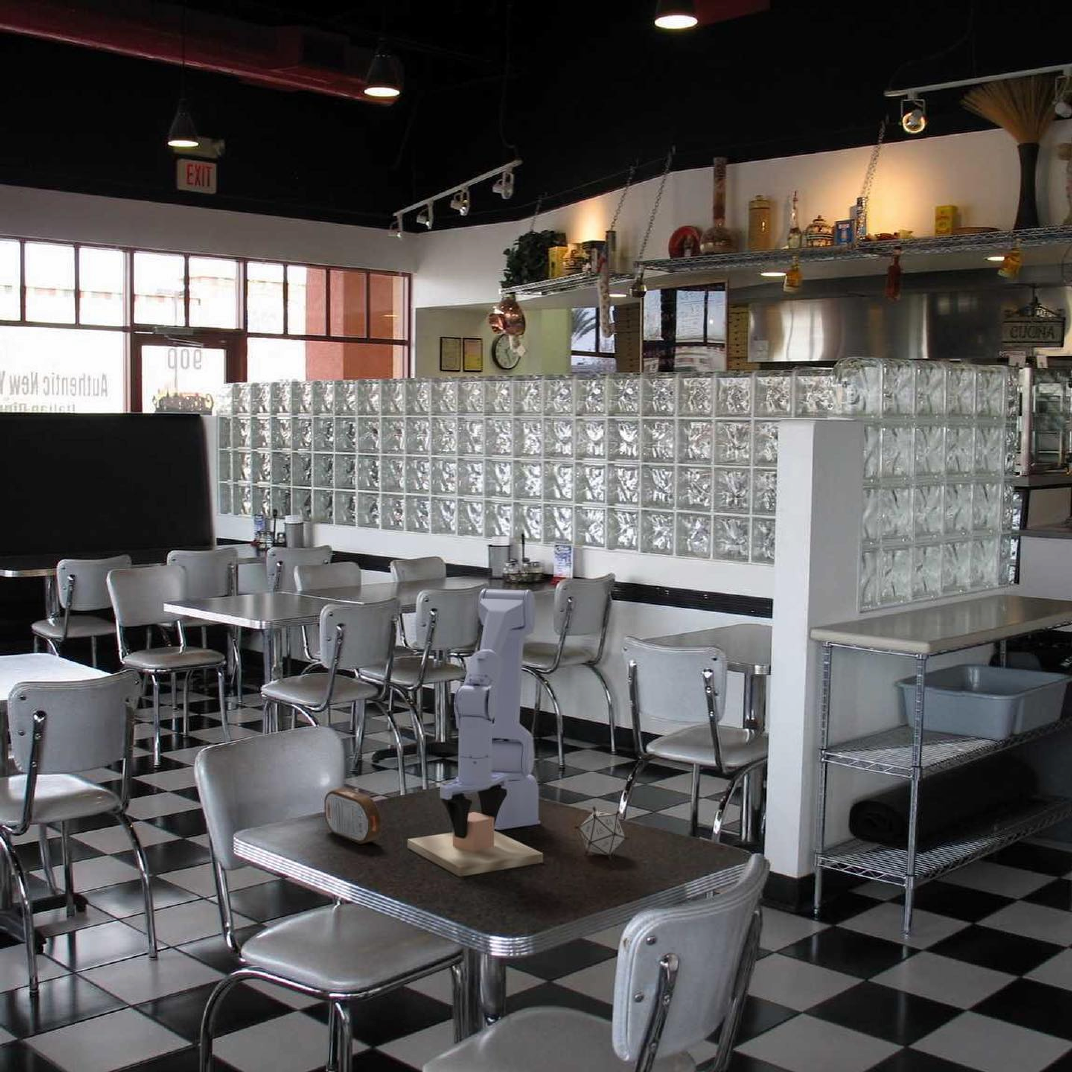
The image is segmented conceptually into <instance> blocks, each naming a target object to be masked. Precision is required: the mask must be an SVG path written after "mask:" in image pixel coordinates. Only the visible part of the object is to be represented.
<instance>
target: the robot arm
mask: <svg viewBox="0 0 1072 1072" xmlns="http://www.w3.org/2000/svg"><path fill="white" fill-rule="evenodd" d="M535 597H536V596H535V594H534V593H533V591H532V590H531V589H526V590H524V589H523V590H521V589H518V590H517V589H497V588H496V589H493V588H492V589H491V588H488V587H487V588H483V589H482V590H481V591H480V592H479V595H478V598H477V600H478V601H477V614H478V617H479V619H480V623H481V625H483V628H482V629H483V630H482V635H481V641H480V647H479V650H477V651H476V652H474V653H473V654H472V655H471V656H470V657H471V658H470V660H469V665H468V668H467V671H466V675H465V678H464V682H463V684H462V686H460V687H457V688H456V691H455V694H454V702H453V707H454V709H453V710H454V715H455V726H456V729H458V752H457V753H458V754H457V755H458V760H457V761H458V763H457V765H458V767H457V768H458V770H457V771H458V772H457V773H458V774H457V776H456V777H455V780H453V781H451V782H448V783H447V784H445V785H441V786H439V798H441V802H442V803H443V805H444V807H445V809H446V811H447V813H448V815H449V819H450V821H451V825H452V826H451V827H452V831H453V830H454V834H455V837H458V838H462V839H464V838H466V835H467V821H468V814H469V813H470V809H471V806H472V803H473V800H472V799H469V798H468V799H467V798H466V796H465V795H467V794H472V793H477V794H478V799H479V802H480V810H481V812H480V814H484V815H487V816H491V817H494V830H497V831H502V830H506V829H507V830H509V829H513V828H520V827H528V826H535V825H539V824H541V820H539V796H540V795H539V793H540V792H539V785H538V782H537V779H536V777H535V776H533V775H532V774H531V773H533V770H534V769H533V768H534V763H535V750H534V737H533V734H532V733H531V732H530V731H529V730H528V729H526V727H525V726H523V725H522V724H521V723H520V717H521V716H520V715H521V695H522V675H523V674H522V673H523V657H524V656H523V655H524V644H525V640H526V637H527V636H529V635H531V634H533V633H534V629H535V623H536V604H537V603H536V598H535ZM493 720H494V723H493ZM494 739H505V740H494ZM507 740H509V741H507ZM510 740H517V741H510Z"/></svg>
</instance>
